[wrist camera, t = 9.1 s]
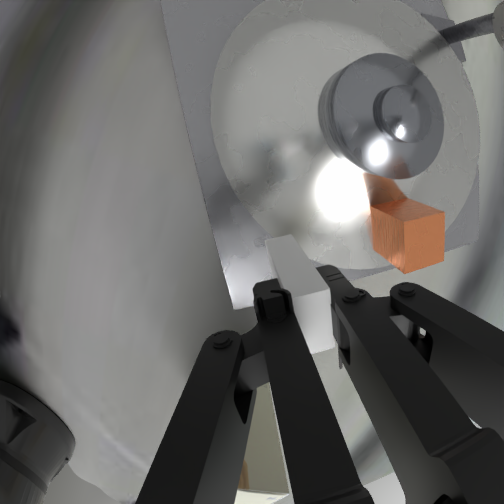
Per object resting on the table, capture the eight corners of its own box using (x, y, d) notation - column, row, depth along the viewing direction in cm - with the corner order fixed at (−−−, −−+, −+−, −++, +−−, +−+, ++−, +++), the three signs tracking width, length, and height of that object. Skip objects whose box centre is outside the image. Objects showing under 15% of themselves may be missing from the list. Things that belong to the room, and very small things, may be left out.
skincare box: (224, 355, 24) (230, 486, 12) (268, 371, 25) (294, 492, 13) (194, 399, 25) (189, 513, 14) (234, 412, 26) (244, 520, 15)
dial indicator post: (432, 74, 17) (561, 58, 5) (415, 16, 15) (527, -29, 3) (463, 78, 17) (581, 71, 5) (447, 23, 15) (553, -6, 3)
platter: (250, 291, 20) (260, 338, 15) (184, 4, 13) (172, -38, 8) (473, 230, 21) (515, 251, 15) (437, 6, 14) (477, -12, 8)
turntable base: (233, 304, 22) (234, 312, 21) (162, 3, 14) (159, -4, 13) (472, 238, 22) (479, 241, 21) (435, 0, 14) (441, -4, 13)
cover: (330, 182, 17) (360, 193, 13) (305, 68, 14) (329, 47, 10) (422, 165, 17) (463, 173, 13) (403, 64, 14) (442, 52, 10)
